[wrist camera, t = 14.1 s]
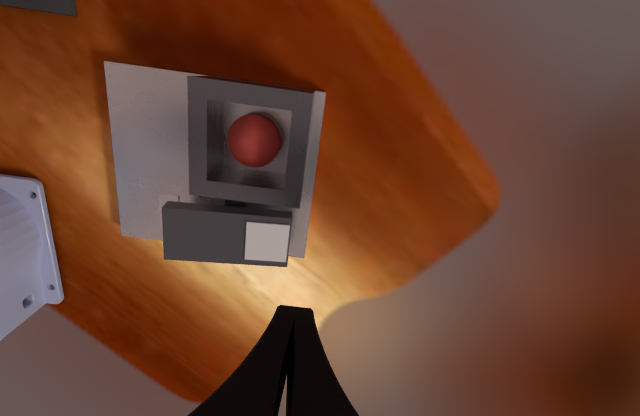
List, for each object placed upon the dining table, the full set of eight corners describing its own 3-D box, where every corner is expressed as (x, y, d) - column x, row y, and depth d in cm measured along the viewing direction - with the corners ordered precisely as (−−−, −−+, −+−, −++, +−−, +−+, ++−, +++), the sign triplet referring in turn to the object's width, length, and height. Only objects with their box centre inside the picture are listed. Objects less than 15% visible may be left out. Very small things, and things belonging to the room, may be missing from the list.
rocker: (286, 258, 21) (286, 268, 20) (169, 250, 20) (163, 260, 19) (292, 211, 19) (292, 219, 18) (167, 200, 18) (160, 208, 17)
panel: (304, 252, 23) (301, 284, 19) (128, 230, 22) (91, 259, 19) (325, 91, 19) (326, 95, 15) (112, 61, 18) (62, 57, 15)
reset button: (280, 163, 19) (277, 170, 18) (233, 157, 19) (226, 163, 18) (285, 115, 18) (281, 118, 17) (234, 108, 18) (227, 111, 17)
